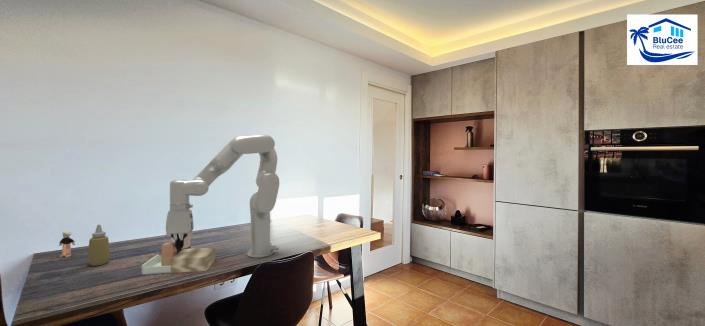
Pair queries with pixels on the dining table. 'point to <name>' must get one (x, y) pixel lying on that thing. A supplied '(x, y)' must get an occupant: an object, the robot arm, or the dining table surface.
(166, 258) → the block
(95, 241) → the squeeze bottle
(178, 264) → the plate
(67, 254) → the grandmother figurine
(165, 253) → the block
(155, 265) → the tray
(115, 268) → the dining table surface
